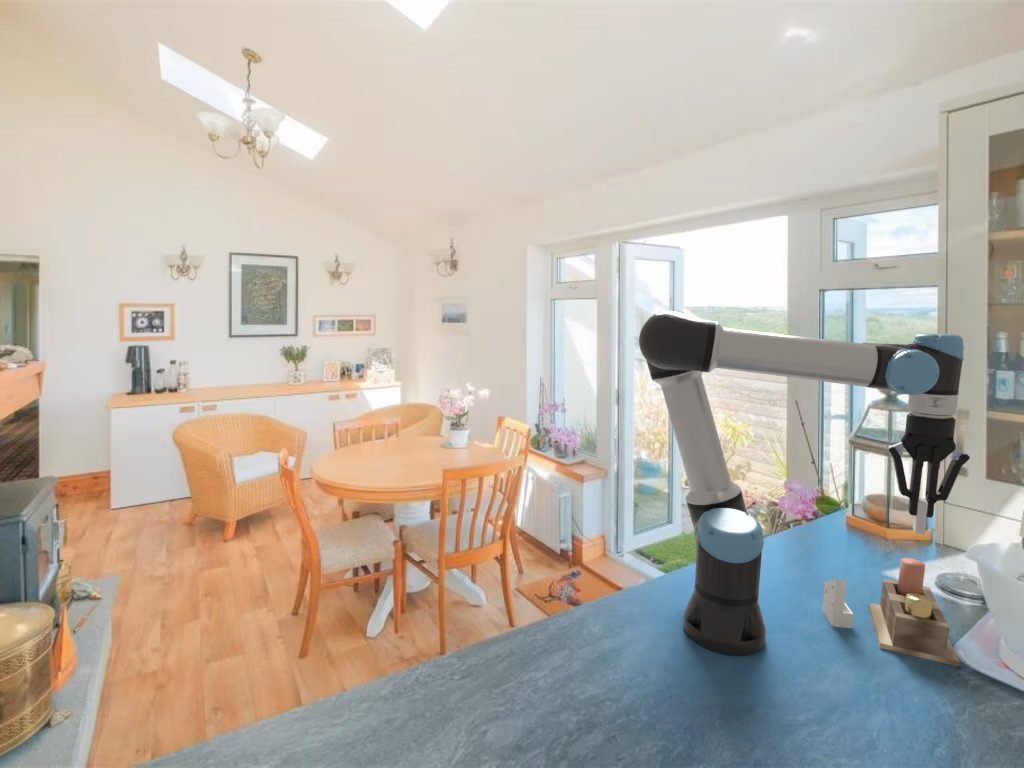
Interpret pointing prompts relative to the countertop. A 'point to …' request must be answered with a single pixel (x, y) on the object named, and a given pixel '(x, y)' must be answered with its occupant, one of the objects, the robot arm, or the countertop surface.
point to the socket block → (911, 627)
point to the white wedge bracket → (836, 604)
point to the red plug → (910, 577)
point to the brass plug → (918, 606)
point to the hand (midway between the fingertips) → (918, 531)
